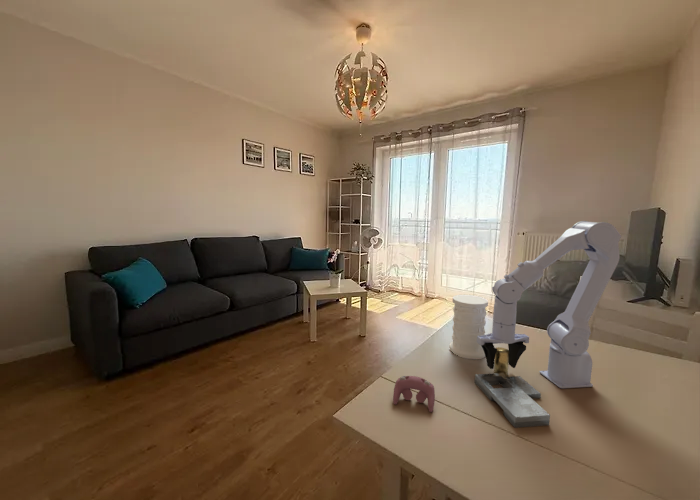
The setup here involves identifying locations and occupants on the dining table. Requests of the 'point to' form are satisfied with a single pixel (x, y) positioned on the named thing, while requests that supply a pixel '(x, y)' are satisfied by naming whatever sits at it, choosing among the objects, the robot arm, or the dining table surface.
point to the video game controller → (415, 383)
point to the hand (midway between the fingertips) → (501, 366)
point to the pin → (501, 361)
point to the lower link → (518, 381)
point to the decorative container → (468, 326)
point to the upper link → (514, 402)
